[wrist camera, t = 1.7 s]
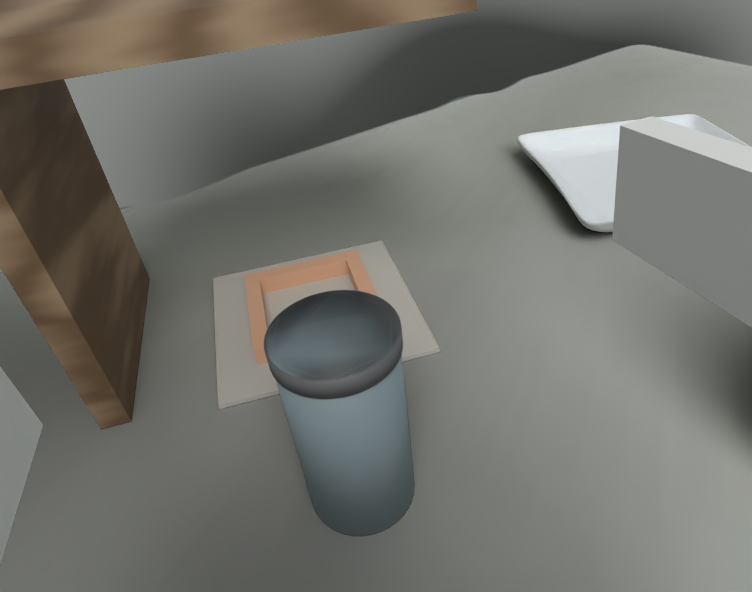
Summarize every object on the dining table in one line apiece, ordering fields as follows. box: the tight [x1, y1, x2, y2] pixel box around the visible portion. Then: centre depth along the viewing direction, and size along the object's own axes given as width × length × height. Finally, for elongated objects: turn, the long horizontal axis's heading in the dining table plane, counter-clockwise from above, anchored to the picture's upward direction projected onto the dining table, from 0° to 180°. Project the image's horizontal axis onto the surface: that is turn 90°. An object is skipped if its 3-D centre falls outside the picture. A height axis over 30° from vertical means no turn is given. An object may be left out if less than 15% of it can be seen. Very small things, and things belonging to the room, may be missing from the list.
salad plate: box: [517, 114, 752, 232], centre depth 56 cm, size 21×21×3 cm
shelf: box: [0, 0, 477, 429], centre depth 39 cm, size 27×18×24 cm, turn 105°
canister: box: [264, 290, 414, 536], centre depth 28 cm, size 6×6×12 cm
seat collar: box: [213, 240, 440, 409], centre depth 45 cm, size 16×16×2 cm
